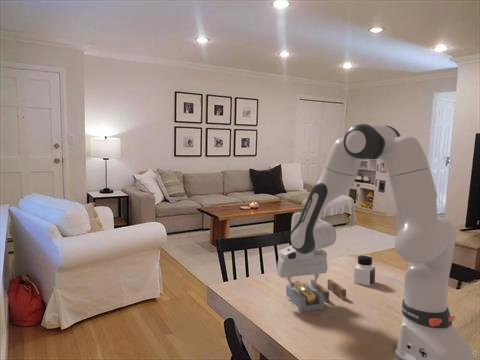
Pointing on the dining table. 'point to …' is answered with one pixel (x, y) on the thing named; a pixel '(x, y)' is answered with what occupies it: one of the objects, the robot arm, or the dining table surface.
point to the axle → (305, 292)
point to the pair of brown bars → (332, 287)
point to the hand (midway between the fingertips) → (302, 285)
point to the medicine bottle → (364, 271)
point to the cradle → (301, 300)
